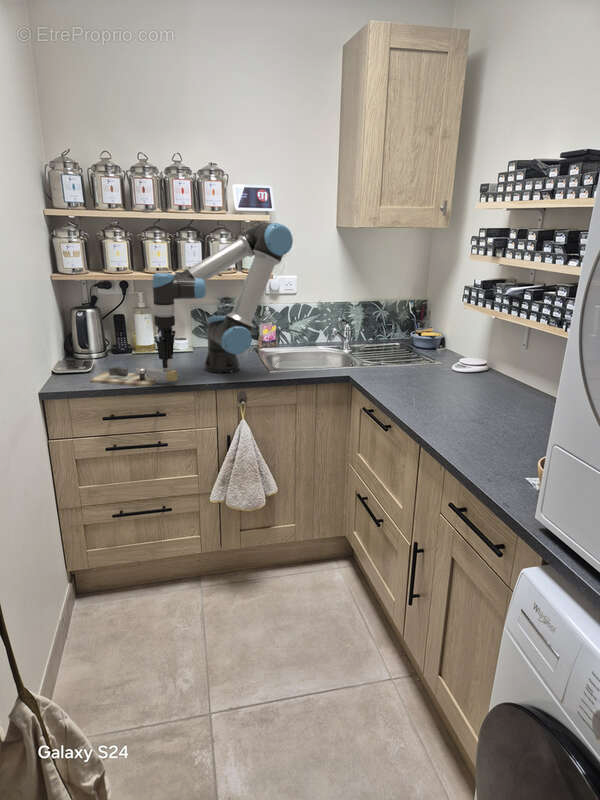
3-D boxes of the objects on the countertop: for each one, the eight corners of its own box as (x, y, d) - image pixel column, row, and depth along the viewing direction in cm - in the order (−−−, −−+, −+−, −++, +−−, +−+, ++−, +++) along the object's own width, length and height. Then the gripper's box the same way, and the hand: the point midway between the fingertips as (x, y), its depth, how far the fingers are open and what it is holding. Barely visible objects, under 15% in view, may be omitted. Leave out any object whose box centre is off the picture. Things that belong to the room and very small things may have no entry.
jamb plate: (159, 379, 217) (159, 370, 215) (149, 386, 207) (149, 377, 206) (135, 377, 218) (135, 369, 217) (124, 384, 208) (124, 375, 207)
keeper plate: (138, 376, 220) (137, 366, 218) (124, 384, 208) (124, 374, 207) (105, 373, 221) (104, 364, 220) (90, 382, 210) (89, 372, 209)
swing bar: (134, 378, 210) (133, 369, 209) (139, 375, 214) (139, 366, 213) (173, 381, 207) (173, 373, 206) (178, 378, 211) (177, 370, 210)
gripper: (163, 311, 211) (165, 370, 219) (146, 317, 199) (150, 378, 207) (180, 313, 209) (182, 371, 217) (165, 318, 198) (168, 380, 205)
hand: (166, 375), depth 212 cm, fingers closed
